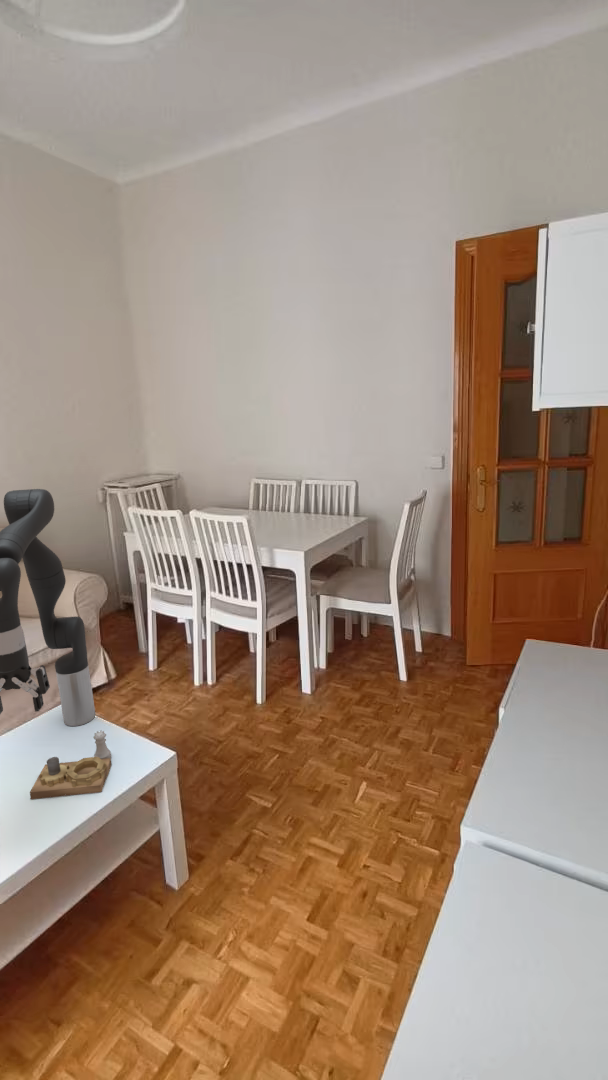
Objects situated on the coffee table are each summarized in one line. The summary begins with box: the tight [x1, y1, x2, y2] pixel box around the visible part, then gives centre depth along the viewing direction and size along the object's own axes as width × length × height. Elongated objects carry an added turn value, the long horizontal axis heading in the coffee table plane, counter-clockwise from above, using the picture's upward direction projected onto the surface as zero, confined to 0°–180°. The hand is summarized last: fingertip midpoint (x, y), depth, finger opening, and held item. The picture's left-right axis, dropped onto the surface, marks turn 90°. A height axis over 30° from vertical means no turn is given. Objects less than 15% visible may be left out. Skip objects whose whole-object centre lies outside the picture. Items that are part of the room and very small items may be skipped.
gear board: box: [29, 756, 113, 800], centre depth 141 cm, size 11×17×7 cm, turn 96°
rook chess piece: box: [93, 729, 112, 759], centre depth 150 cm, size 4×4×8 cm
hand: (19, 711), depth 125 cm, fingers open, 8 cm apart
